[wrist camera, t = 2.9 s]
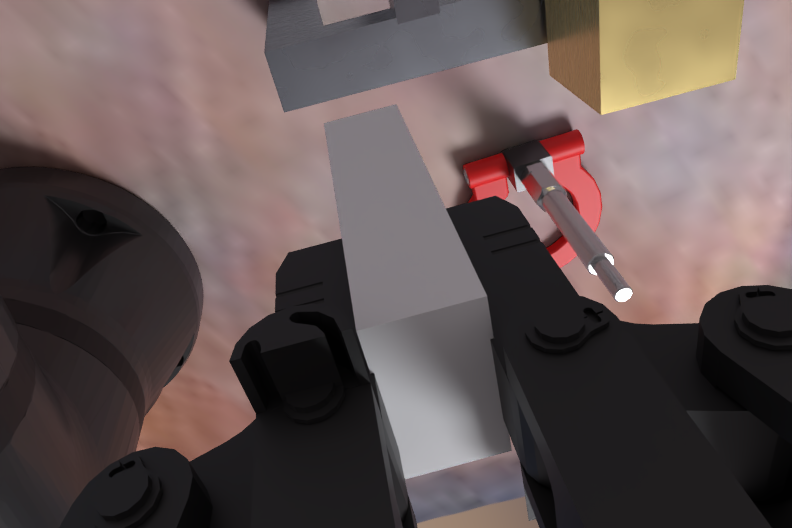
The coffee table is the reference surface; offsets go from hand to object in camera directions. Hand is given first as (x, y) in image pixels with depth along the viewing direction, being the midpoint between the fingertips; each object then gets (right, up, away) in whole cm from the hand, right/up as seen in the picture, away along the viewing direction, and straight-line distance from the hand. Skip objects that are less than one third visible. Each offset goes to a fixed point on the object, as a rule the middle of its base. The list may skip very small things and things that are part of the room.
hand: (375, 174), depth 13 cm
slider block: (+5, +13, +14) cm, 20 cm away
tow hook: (+8, +1, +24) cm, 25 cm away
